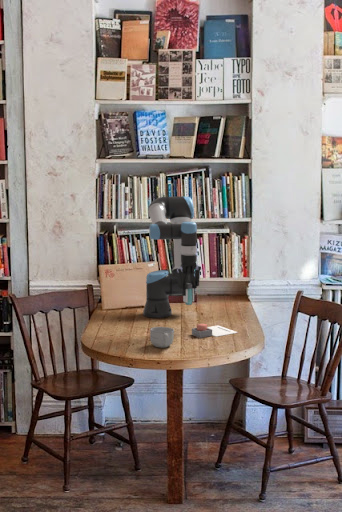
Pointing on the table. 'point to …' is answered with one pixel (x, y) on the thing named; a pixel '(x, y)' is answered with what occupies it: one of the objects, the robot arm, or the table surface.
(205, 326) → the button
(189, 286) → the marker
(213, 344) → the table surface
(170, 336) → the teacup
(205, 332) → the button housing
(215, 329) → the paper
